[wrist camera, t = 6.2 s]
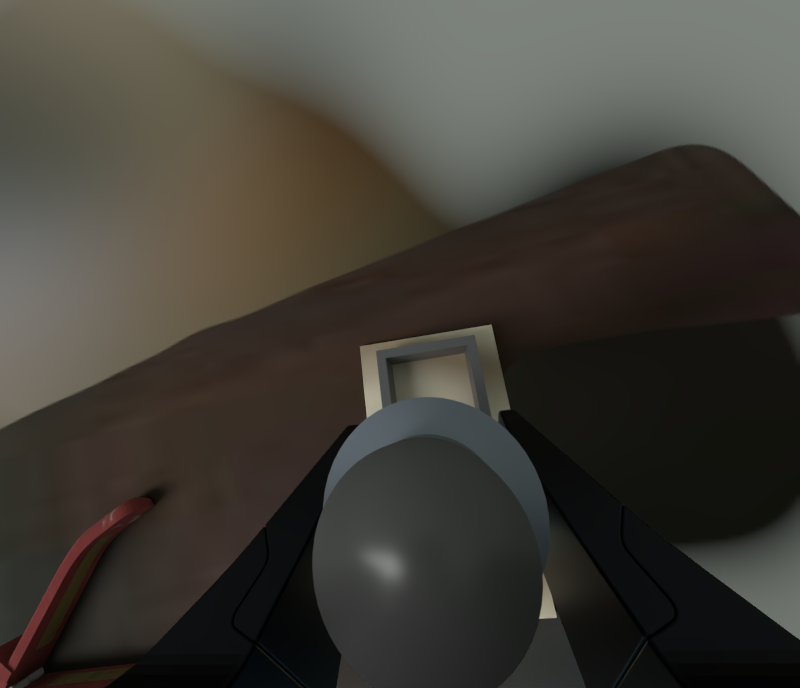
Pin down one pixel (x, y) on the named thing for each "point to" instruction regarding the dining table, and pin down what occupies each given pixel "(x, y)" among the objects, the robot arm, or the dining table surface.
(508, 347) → the dining table surface
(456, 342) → the gray square frame
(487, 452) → the capped bottle
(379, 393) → the board
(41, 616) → the pliers
